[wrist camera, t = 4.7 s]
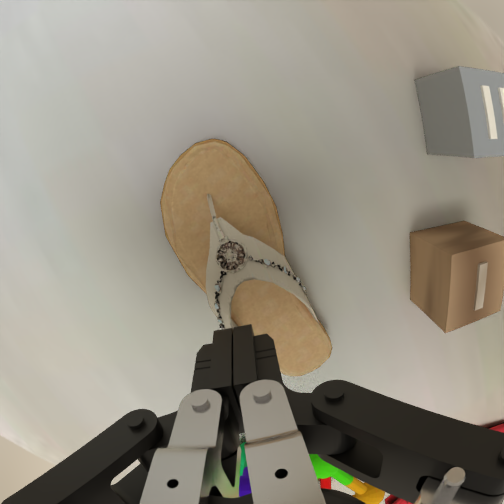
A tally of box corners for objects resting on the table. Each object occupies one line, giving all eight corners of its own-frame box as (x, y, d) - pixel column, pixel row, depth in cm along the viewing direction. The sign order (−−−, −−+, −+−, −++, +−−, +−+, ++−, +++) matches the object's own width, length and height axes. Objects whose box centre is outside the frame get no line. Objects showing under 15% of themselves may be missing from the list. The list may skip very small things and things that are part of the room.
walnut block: (463, 220, 19) (510, 239, 14) (461, 283, 21) (501, 311, 16) (409, 232, 19) (453, 256, 14) (409, 298, 21) (447, 334, 16)
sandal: (224, 126, 17) (220, 115, 12) (354, 325, 21) (380, 366, 17) (133, 193, 18) (101, 207, 13) (275, 372, 22) (283, 420, 17)
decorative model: (310, 524, 24) (180, 537, 18) (296, 460, 31) (174, 454, 25) (409, 492, 18) (268, 530, 12) (382, 413, 25) (247, 403, 19)
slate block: (467, 83, 16) (515, 74, 11) (477, 150, 18) (527, 155, 13) (413, 80, 16) (460, 65, 11) (426, 154, 18) (476, 158, 13)
